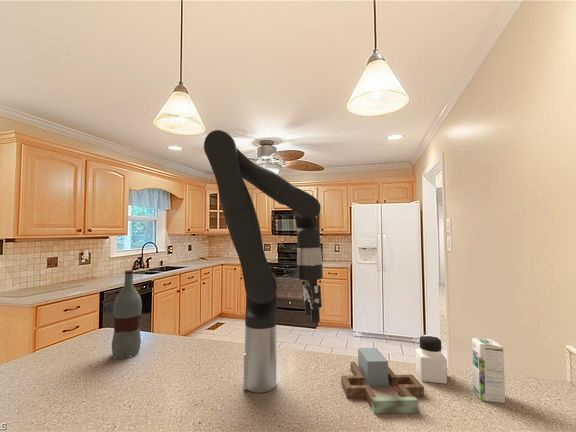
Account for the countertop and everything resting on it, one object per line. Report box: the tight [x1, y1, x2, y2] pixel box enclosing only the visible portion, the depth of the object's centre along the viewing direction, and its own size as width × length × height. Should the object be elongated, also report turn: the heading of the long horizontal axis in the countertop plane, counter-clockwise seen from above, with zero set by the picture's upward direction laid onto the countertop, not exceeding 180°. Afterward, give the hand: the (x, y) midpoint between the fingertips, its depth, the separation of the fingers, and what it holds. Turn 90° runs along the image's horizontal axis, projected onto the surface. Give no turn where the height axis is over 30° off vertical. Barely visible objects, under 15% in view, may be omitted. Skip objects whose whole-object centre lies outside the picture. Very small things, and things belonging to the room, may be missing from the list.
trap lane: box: [340, 361, 425, 415], centre depth 83 cm, size 21×23×3 cm
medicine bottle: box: [415, 334, 448, 385], centre depth 90 cm, size 7×7×12 cm
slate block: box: [357, 347, 389, 387], centre depth 90 cm, size 6×10×7 cm, turn 2°
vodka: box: [111, 269, 143, 359], centre depth 107 cm, size 9×9×30 cm
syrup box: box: [471, 337, 506, 404], centre depth 79 cm, size 6×6×14 cm
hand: (312, 318), depth 86 cm, fingers open, 8 cm apart
